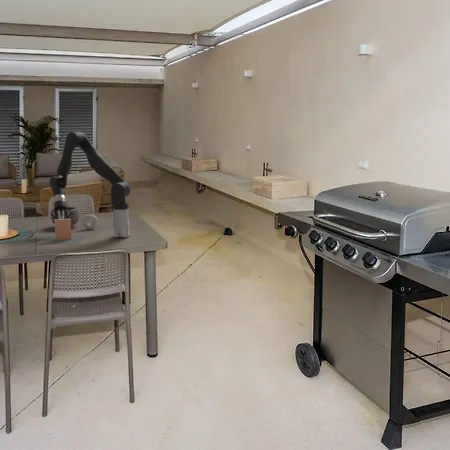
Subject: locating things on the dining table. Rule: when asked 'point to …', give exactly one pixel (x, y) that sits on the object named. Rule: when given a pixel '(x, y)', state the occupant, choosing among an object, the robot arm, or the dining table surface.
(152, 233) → the dining table surface
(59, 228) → the tile
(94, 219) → the donut
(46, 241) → the mat
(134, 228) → the dining table surface
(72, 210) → the bowl
